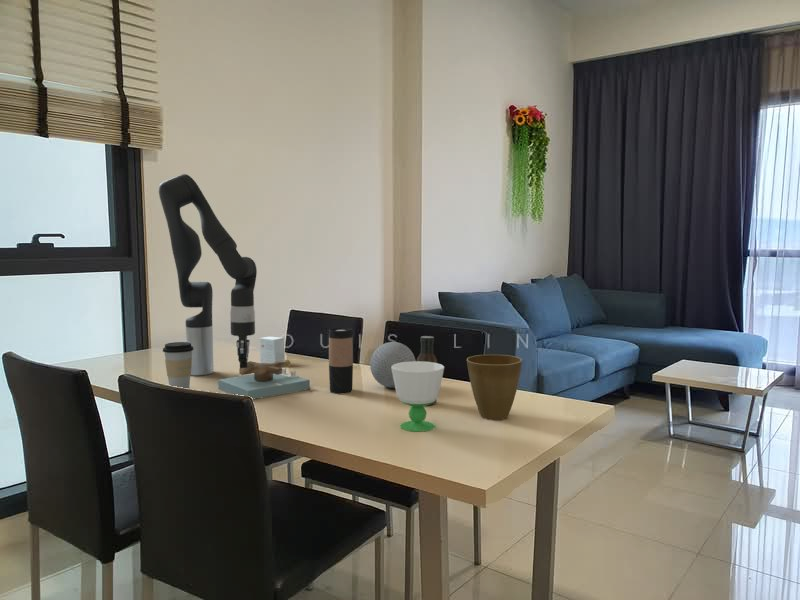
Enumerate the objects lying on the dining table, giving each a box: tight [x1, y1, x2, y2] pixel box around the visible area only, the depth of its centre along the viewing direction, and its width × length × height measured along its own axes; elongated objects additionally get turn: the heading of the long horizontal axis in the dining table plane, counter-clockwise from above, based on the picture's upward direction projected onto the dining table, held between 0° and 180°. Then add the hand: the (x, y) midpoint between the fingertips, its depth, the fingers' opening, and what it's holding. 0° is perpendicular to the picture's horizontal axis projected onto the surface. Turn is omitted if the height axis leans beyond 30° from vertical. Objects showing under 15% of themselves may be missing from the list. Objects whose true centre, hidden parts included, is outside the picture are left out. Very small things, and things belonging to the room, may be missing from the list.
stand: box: [217, 367, 311, 400], centre depth 200 cm, size 21×22×5 cm
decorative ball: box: [369, 341, 416, 389], centre depth 203 cm, size 15×15×15 cm
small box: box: [259, 336, 286, 363], centre depth 241 cm, size 8×6×10 cm
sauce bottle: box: [416, 335, 439, 406], centre depth 182 cm, size 6×6×20 cm
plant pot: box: [466, 354, 523, 421], centre depth 169 cm, size 15×15×16 cm
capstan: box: [239, 359, 291, 381], centre depth 201 cm, size 19×17×5 cm
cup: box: [391, 360, 445, 433], centre depth 159 cm, size 14×14×16 cm
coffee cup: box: [162, 341, 194, 389], centre depth 199 cm, size 9×9×15 cm
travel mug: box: [328, 327, 354, 395], centre depth 197 cm, size 8×8×20 cm
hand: (243, 373), depth 198 cm, fingers closed
